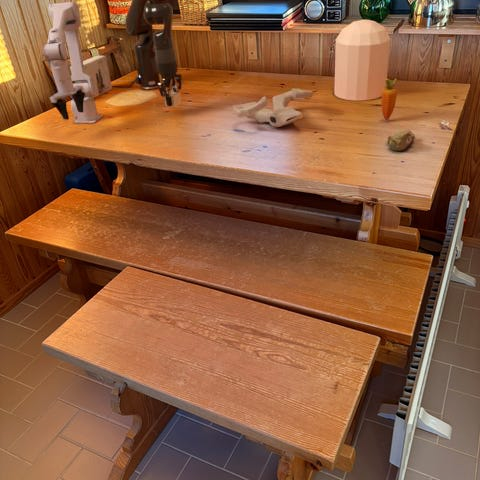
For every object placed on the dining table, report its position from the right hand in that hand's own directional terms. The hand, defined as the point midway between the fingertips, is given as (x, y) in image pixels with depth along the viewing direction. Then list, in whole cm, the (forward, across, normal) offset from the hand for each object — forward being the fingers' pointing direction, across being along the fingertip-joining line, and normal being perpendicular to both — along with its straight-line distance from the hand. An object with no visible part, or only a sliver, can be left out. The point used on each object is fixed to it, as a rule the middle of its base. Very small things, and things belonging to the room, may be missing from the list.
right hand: (173, 103), depth 189 cm
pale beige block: (+1, 0, 0) cm, 1 cm away
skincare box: (+5, +12, +54) cm, 56 cm away
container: (+4, +43, -65) cm, 78 cm away
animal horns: (+4, 0, -47) cm, 47 cm away
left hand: (-4, -32, +23) cm, 39 cm away
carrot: (+4, +14, -83) cm, 84 cm away
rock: (+4, -6, -92) cm, 93 cm away
